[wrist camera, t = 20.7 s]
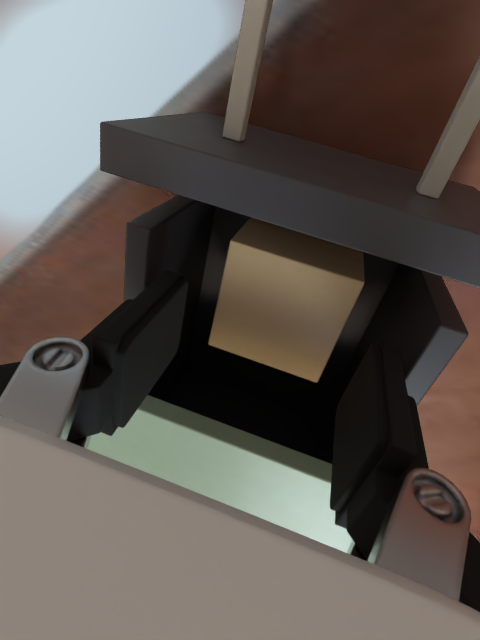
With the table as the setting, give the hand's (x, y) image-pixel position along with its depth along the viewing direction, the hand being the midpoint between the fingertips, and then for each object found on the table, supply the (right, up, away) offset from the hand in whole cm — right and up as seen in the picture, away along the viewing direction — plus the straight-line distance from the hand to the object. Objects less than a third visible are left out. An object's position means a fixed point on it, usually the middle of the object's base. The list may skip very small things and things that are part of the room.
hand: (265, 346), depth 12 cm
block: (+2, +3, +5) cm, 7 cm away
